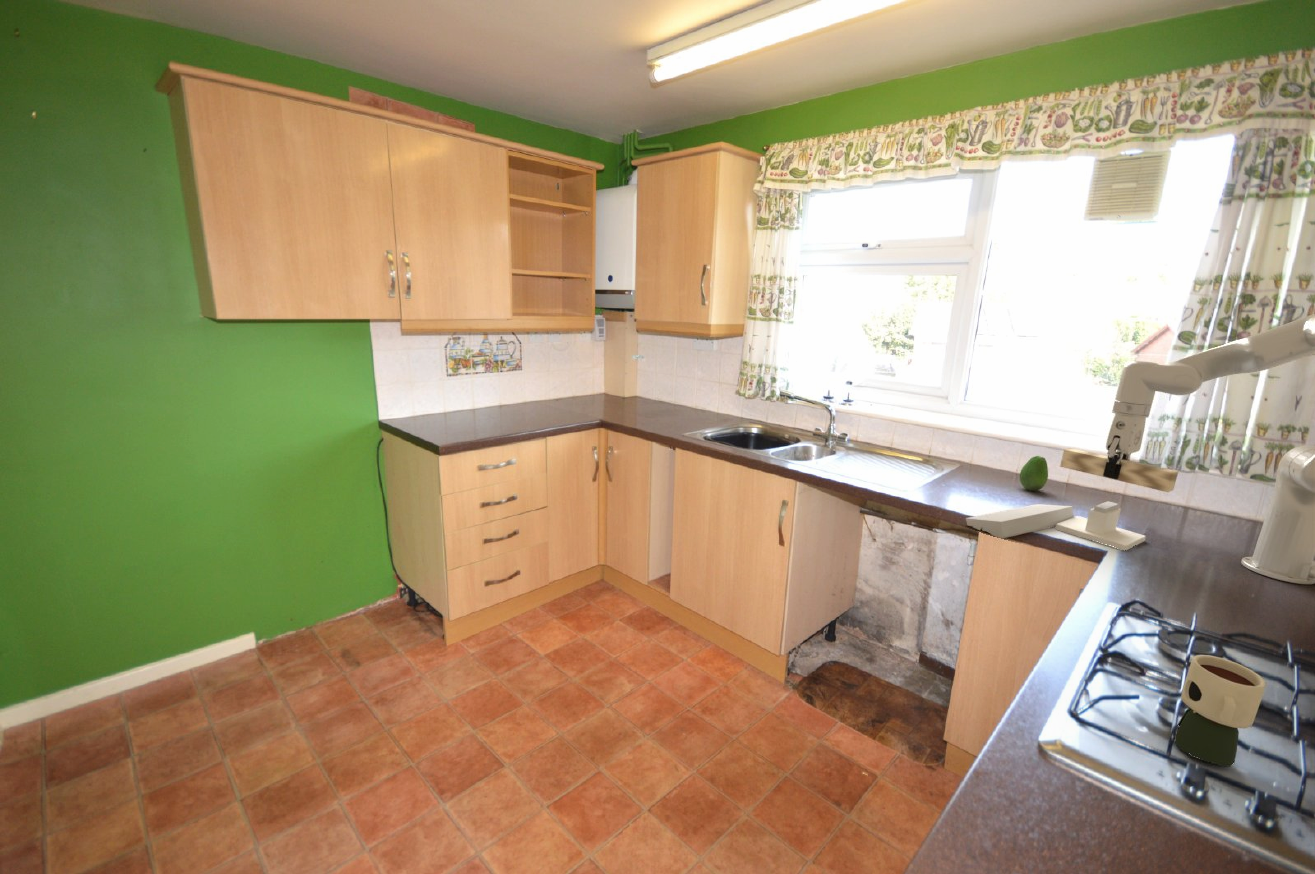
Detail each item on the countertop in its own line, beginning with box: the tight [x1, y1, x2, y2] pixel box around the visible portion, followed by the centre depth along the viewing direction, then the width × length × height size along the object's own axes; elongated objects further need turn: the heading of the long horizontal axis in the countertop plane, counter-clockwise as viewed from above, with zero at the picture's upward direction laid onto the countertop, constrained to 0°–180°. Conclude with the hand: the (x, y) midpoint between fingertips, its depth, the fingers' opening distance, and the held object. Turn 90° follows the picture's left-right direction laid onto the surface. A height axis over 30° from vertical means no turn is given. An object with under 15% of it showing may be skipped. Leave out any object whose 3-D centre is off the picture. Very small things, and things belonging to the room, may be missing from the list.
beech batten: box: [1059, 447, 1179, 493], centre depth 153 cm, size 24×4×5 cm, turn 34°
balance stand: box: [1054, 500, 1147, 552], centre depth 156 cm, size 16×14×9 cm
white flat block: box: [965, 503, 1075, 540], centre depth 163 cm, size 34×5×10 cm
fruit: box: [1019, 455, 1049, 492], centre depth 193 cm, size 8×8×12 cm
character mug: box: [1174, 654, 1267, 767], centre depth 77 cm, size 11×7×13 cm, turn 143°
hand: (1114, 475), depth 153 cm, fingers closed on beech batten, 4 cm apart
